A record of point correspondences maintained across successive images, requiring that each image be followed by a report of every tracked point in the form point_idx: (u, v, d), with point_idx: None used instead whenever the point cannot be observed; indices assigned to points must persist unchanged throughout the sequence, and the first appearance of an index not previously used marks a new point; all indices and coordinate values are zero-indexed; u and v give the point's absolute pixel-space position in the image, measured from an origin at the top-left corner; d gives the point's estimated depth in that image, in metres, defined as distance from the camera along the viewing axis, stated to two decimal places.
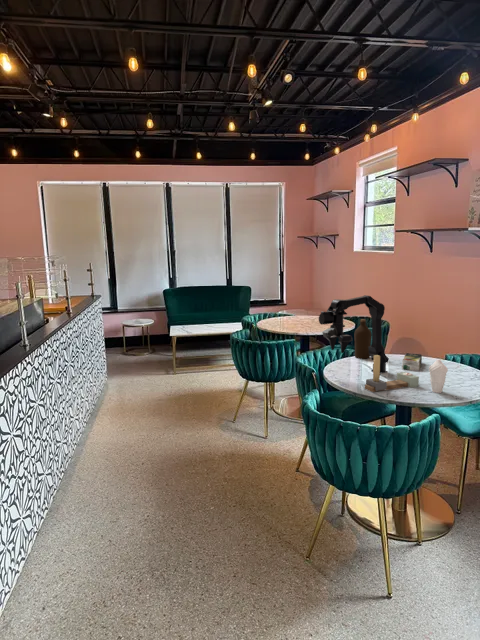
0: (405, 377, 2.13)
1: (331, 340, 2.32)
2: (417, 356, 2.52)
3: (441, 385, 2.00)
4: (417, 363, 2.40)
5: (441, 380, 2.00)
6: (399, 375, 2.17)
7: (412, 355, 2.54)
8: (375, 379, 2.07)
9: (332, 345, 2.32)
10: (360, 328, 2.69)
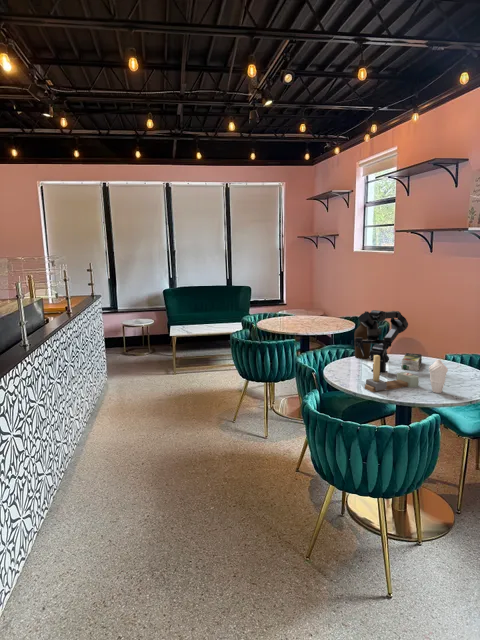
0: (405, 377, 2.13)
1: None
2: (417, 356, 2.52)
3: (441, 385, 2.00)
4: (416, 363, 2.40)
5: (441, 380, 2.00)
6: (399, 375, 2.17)
7: (412, 355, 2.54)
8: (375, 379, 2.07)
9: (363, 351, 2.24)
10: (360, 328, 2.69)
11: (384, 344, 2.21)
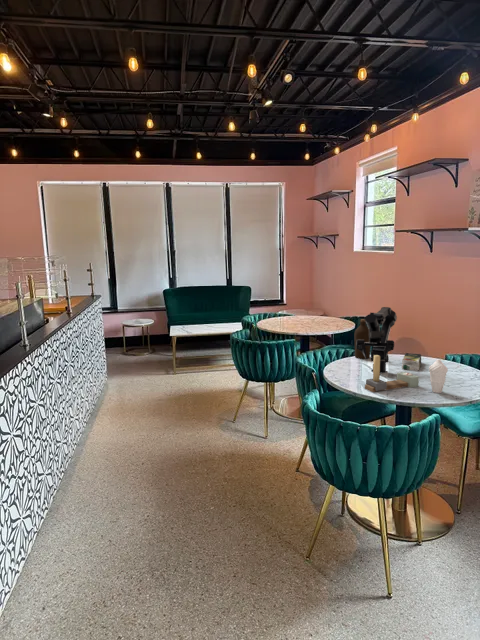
0: (405, 377, 2.13)
1: (365, 349, 2.19)
2: (417, 356, 2.52)
3: (441, 385, 2.00)
4: (417, 363, 2.40)
5: (441, 380, 2.00)
6: (399, 375, 2.17)
7: (412, 355, 2.54)
8: (375, 379, 2.07)
9: (365, 353, 2.18)
10: (360, 328, 2.69)
11: (387, 347, 2.15)
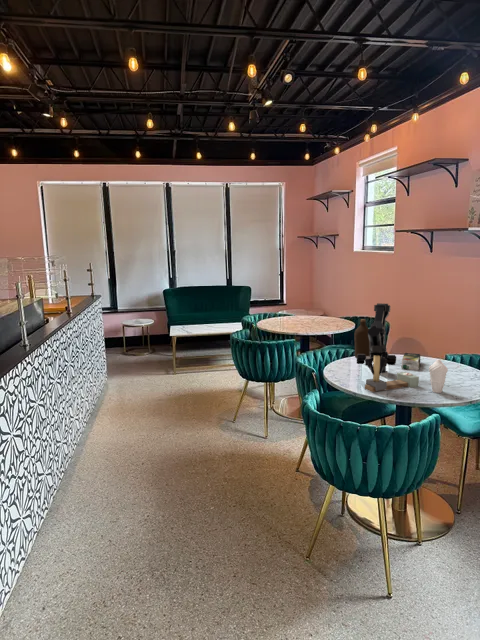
0: (405, 377, 2.13)
1: None
2: (416, 356, 2.52)
3: (441, 385, 2.00)
4: (416, 363, 2.41)
5: (441, 380, 2.00)
6: (399, 375, 2.17)
7: (411, 355, 2.55)
8: (375, 379, 2.07)
9: (372, 369, 2.09)
10: (360, 328, 2.69)
11: (382, 362, 2.08)
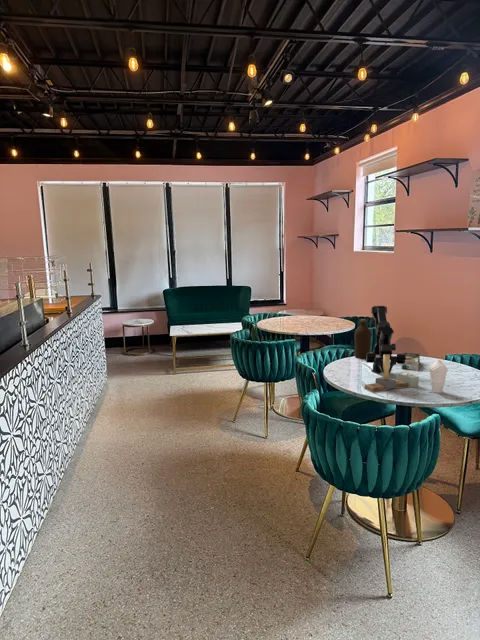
0: (405, 377, 2.13)
1: (381, 362, 2.12)
2: (415, 356, 2.53)
3: (441, 385, 2.00)
4: (416, 362, 2.41)
5: (441, 380, 2.00)
6: (399, 375, 2.17)
7: (410, 355, 2.55)
8: (385, 378, 2.09)
9: None
10: (360, 328, 2.69)
11: (392, 360, 2.10)
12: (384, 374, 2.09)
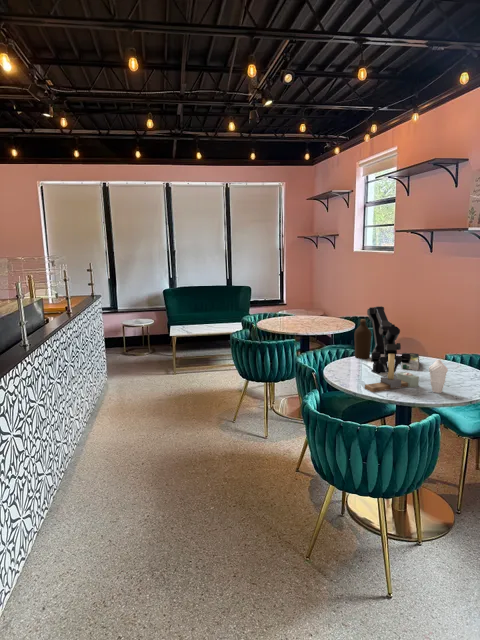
0: (405, 377, 2.13)
1: (386, 362, 2.13)
2: (415, 355, 2.53)
3: (441, 385, 2.00)
4: (416, 362, 2.41)
5: (441, 380, 2.00)
6: (399, 375, 2.17)
7: None
8: (390, 377, 2.10)
9: None
10: (360, 328, 2.69)
11: (397, 360, 2.11)
12: (389, 373, 2.10)
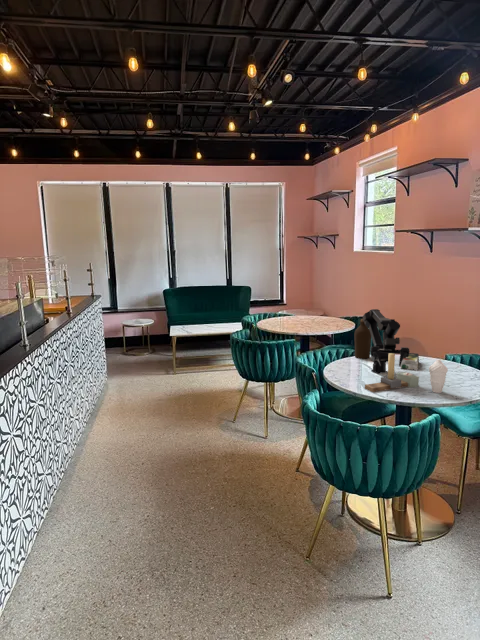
0: (405, 377, 2.13)
1: (379, 355, 2.18)
2: (414, 355, 2.53)
3: (441, 385, 2.00)
4: (415, 362, 2.42)
5: (441, 380, 2.00)
6: (399, 375, 2.17)
7: (410, 355, 2.56)
8: (390, 377, 2.10)
9: None
10: (360, 328, 2.69)
11: (402, 354, 2.14)
12: (389, 373, 2.10)
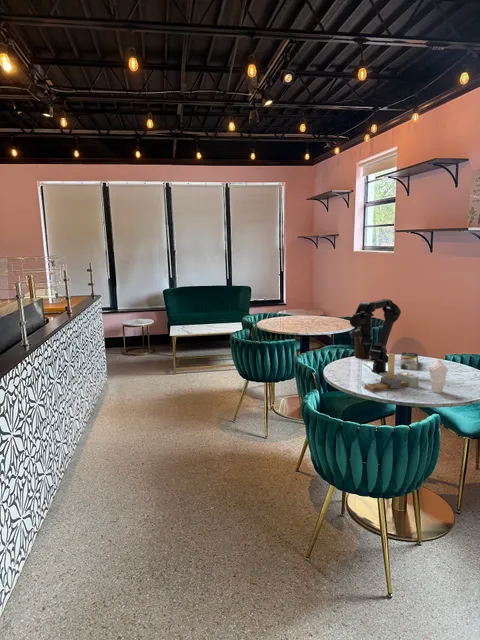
0: (405, 377, 2.13)
1: None
2: (414, 355, 2.54)
3: (441, 385, 2.00)
4: (415, 362, 2.42)
5: (441, 380, 2.00)
6: (399, 375, 2.17)
7: (409, 354, 2.56)
8: (390, 377, 2.10)
9: None
10: None
11: (362, 344, 2.24)
12: (389, 373, 2.10)
